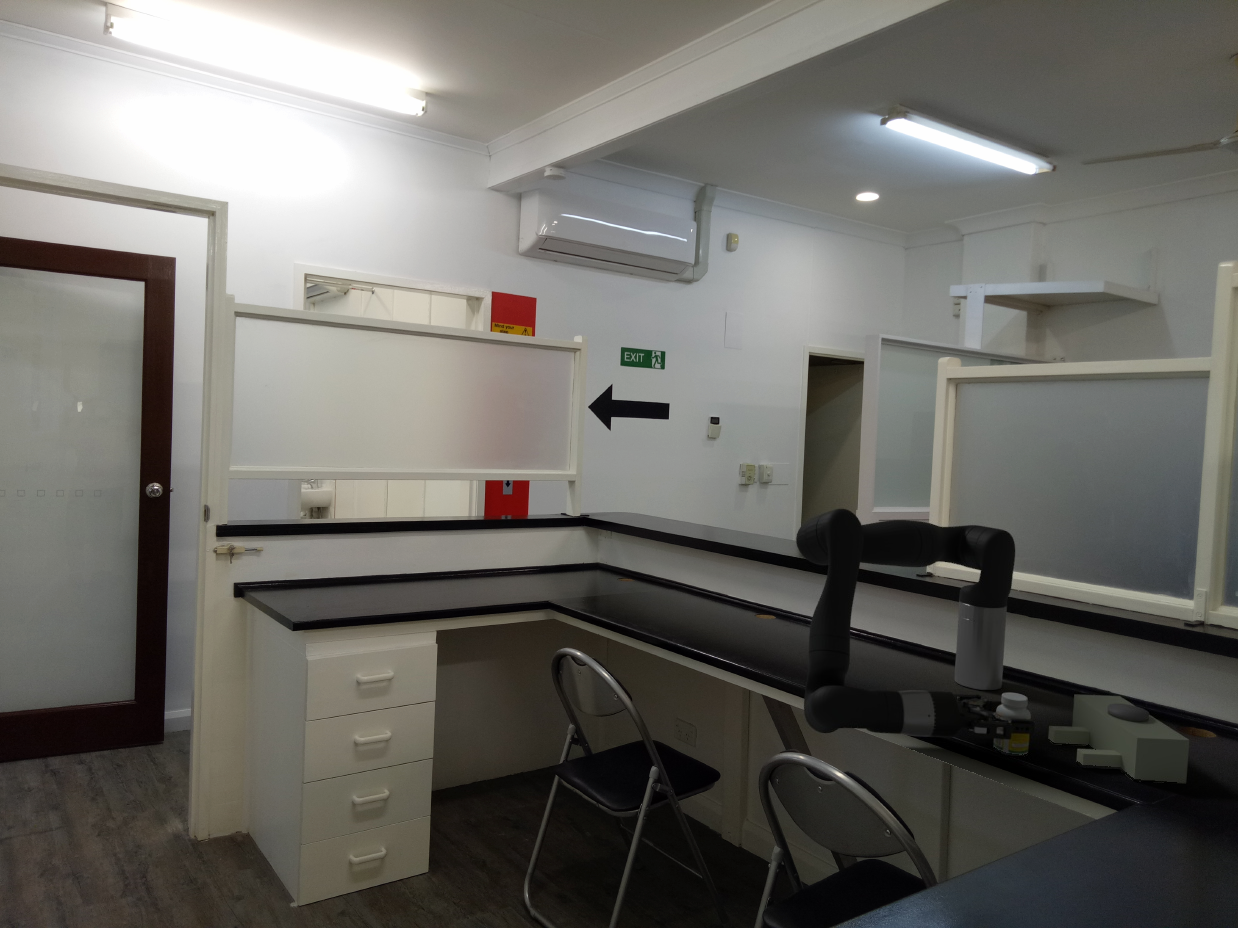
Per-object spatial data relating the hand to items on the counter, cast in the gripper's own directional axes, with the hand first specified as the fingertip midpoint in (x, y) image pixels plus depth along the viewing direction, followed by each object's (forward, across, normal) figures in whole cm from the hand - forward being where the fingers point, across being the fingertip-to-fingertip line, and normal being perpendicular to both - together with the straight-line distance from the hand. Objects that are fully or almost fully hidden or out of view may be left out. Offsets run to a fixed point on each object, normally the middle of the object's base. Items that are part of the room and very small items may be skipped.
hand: (1022, 717), depth 145 cm
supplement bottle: (-2, 0, +6) cm, 6 cm away
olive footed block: (+14, 0, +6) cm, 16 cm away
